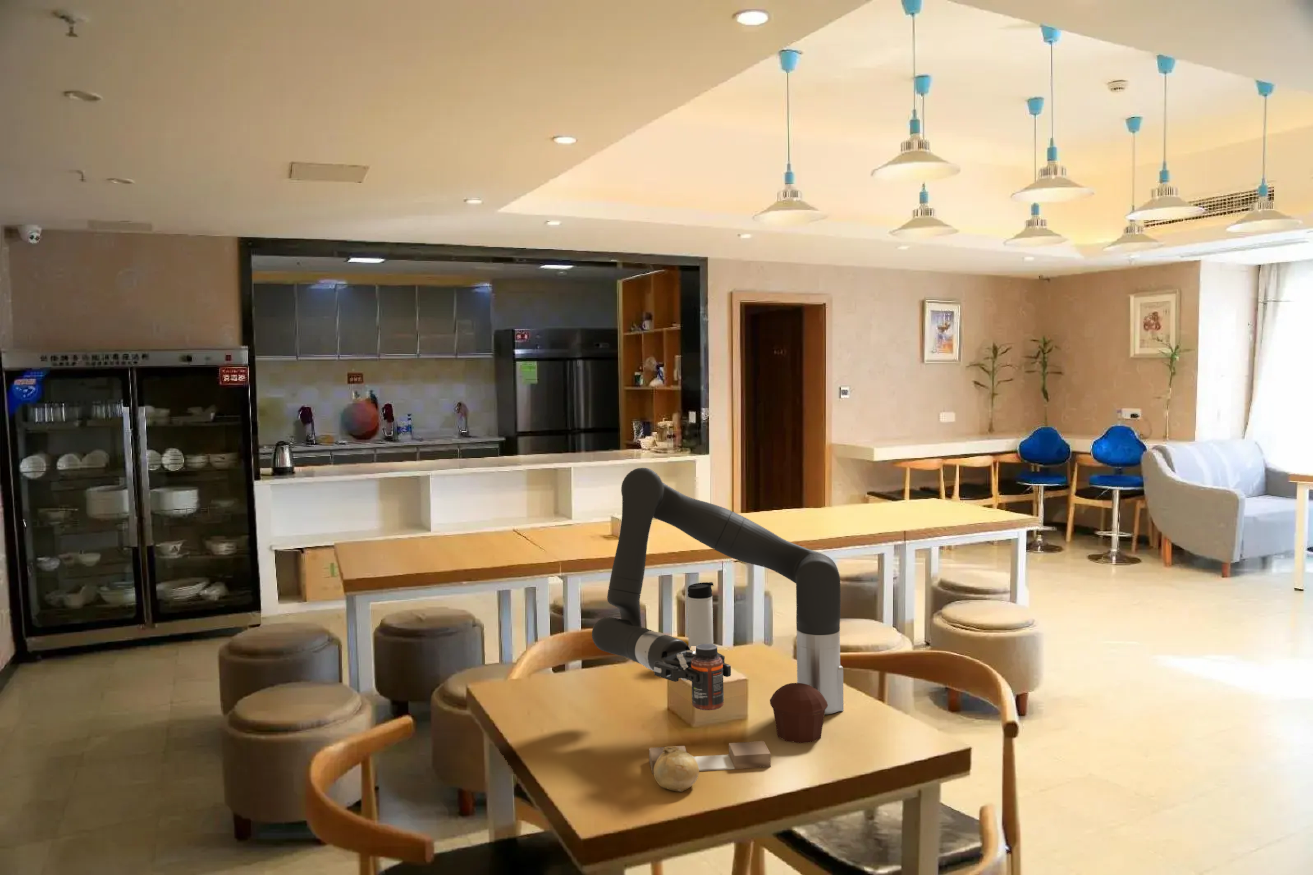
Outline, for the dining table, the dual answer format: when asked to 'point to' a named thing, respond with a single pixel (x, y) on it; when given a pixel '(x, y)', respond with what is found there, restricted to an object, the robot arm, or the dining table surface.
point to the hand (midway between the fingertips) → (715, 674)
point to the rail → (726, 757)
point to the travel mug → (700, 614)
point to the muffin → (798, 712)
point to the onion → (676, 769)
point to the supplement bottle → (708, 678)
